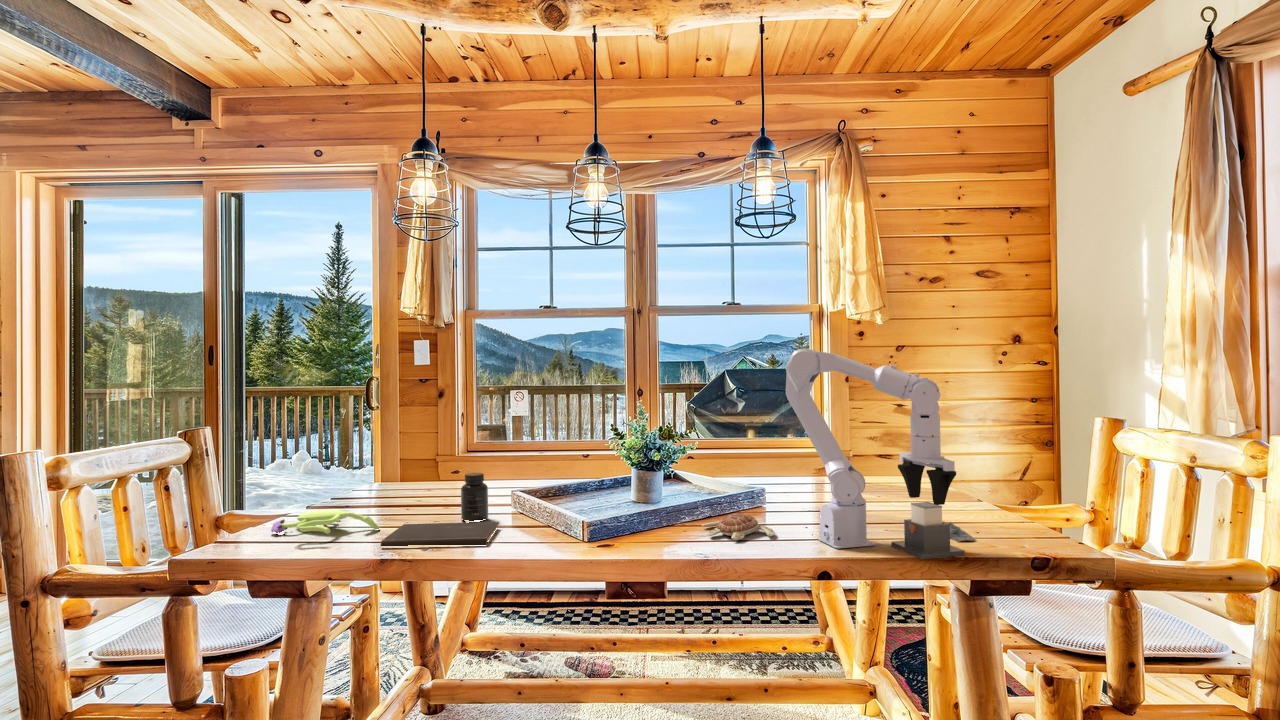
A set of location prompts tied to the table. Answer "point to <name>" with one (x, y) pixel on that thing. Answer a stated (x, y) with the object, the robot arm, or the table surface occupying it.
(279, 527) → the figurine
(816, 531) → the table surface
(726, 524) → the decorative turtle
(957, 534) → the driftwood
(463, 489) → the supplement bottle
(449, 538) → the hardcover book
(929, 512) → the post
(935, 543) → the sleeve stand
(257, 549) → the table surface
